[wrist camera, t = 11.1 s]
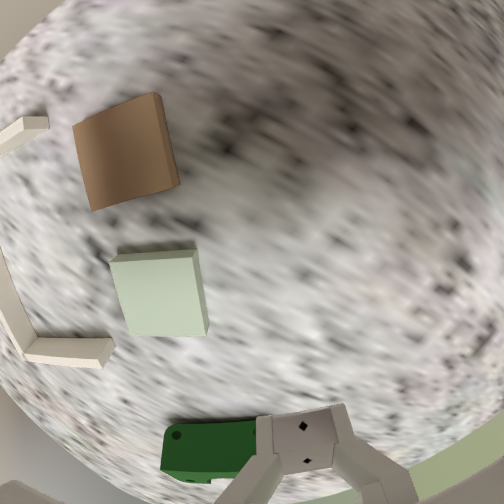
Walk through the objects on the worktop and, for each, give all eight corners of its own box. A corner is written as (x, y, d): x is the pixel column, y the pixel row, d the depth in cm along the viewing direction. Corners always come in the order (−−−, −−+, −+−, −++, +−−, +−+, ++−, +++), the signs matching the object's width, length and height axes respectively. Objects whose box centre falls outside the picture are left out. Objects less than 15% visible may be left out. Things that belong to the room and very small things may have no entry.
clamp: (202, 419, 31) (170, 476, 24) (185, 397, 28) (146, 462, 21) (295, 444, 26) (268, 513, 19) (292, 426, 23) (259, 509, 16)
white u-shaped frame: (47, 116, 15) (22, 116, 13) (115, 346, 22) (102, 368, 19) (-24, 164, 16) (-45, 170, 13) (37, 344, 23) (23, 360, 20)
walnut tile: (163, 97, 16) (152, 92, 14) (182, 183, 18) (173, 188, 16) (87, 126, 16) (72, 126, 14) (105, 205, 18) (91, 211, 16)
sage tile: (198, 246, 19) (192, 257, 17) (210, 320, 21) (206, 336, 20) (120, 252, 20) (108, 262, 18) (139, 321, 22) (130, 335, 20)
